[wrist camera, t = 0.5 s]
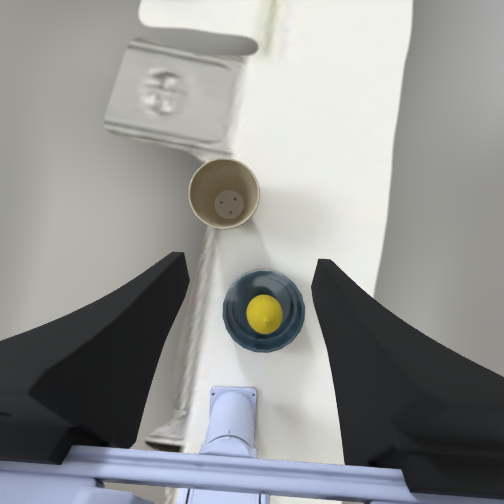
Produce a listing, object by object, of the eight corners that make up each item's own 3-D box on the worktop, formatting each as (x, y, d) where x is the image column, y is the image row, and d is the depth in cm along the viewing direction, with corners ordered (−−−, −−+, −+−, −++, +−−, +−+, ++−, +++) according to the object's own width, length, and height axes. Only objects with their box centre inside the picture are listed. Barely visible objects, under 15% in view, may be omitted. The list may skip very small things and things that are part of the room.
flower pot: (268, 198, 35) (273, 185, 28) (235, 244, 35) (232, 243, 28) (222, 165, 35) (215, 143, 28) (189, 211, 35) (173, 201, 28)
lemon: (264, 283, 35) (268, 293, 27) (284, 307, 35) (295, 324, 27) (240, 304, 35) (237, 320, 27) (260, 328, 35) (264, 351, 27)
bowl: (297, 343, 35) (303, 353, 32) (224, 341, 35) (221, 351, 32) (300, 270, 35) (306, 272, 32) (226, 267, 35) (224, 269, 32)
